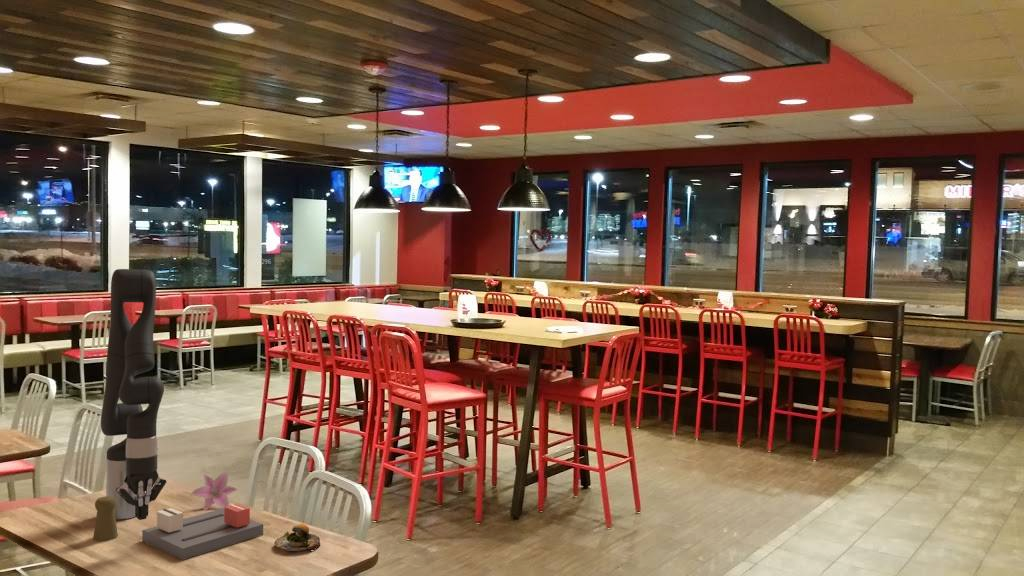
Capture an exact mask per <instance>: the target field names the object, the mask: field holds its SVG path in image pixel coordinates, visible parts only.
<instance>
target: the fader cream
mask: <svg viewBox="0 0 1024 576" xmlns="http://www.w3.org/2000/svg"><path fill="white" fill-rule="evenodd" d="M183 519H184V512H182V511H179V510H177V509H174V508H172V507H169V508H163V509H162V510H157V511H156V526H157V528H159V529H162V530H164V531H166V532H168V533H169V532H173V531H176V530H180V529H183Z"/></svg>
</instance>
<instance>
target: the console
mask: <svg viewBox="0 0 1024 576" xmlns="http://www.w3.org/2000/svg"><path fill="white" fill-rule="evenodd" d="M141 530H142V531H141V532H142V533H141V535H142V538H141V539H142V541H141V542H143V543H145V544H148V545H150V546H152V547H154V548H156V549H158V550H160V551H162V552H164V553H166V554H169V555H171V556H172V557H174V558H178V559H180V560H181V561H184V560H187V559H190V558H194V557H196V556H197V557H198V556H200V555H203V554H205V553H209V552H212V551H216V550H219V549H222V548H225V547H230V546H232V545H235V544H238V543H241V542H244V541H248V540H252V539H254V538H257V537H260V536H261V537H262V536H264V523H262V522H259V521H256V520H253V519H251V518H250V524H248V525H244V526H241V527H238V528H236V527H234V526H231V525H229V524H226V523H224V508H220V509H216V510H213V511H212V510H211V511H208V512H205V513H201V514H197V515H193V516H189V517H186V518H183V529H180V530H176V531H173V532H169V533H168V532H166V531H164V530H162V529H159V528H157V525H156V526H152V527H149V528H144V529H141Z"/></svg>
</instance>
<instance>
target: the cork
mask: <svg viewBox="0 0 1024 576" xmlns="http://www.w3.org/2000/svg"><path fill="white" fill-rule="evenodd" d="M115 507H116V499H115V498H114V497H111V496H101V497H98V498H97V499H96V500H95V502H94V508H95V509H96V517H95V524H94V530H93V538H92V539H93V541H95V542H107V541H113V540H114V539H117V538H118V536H119V533H118V526H117V519H115V512H114V508H115Z"/></svg>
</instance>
